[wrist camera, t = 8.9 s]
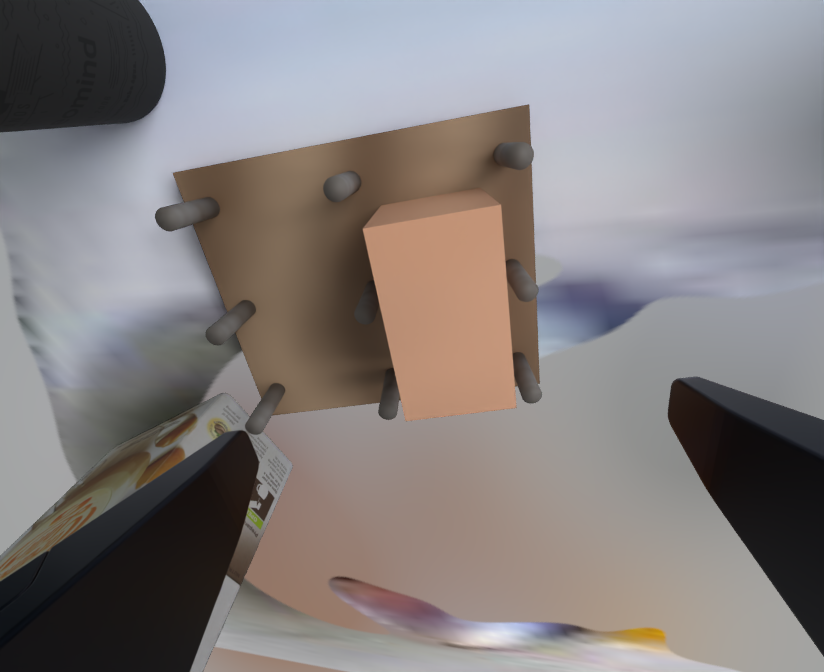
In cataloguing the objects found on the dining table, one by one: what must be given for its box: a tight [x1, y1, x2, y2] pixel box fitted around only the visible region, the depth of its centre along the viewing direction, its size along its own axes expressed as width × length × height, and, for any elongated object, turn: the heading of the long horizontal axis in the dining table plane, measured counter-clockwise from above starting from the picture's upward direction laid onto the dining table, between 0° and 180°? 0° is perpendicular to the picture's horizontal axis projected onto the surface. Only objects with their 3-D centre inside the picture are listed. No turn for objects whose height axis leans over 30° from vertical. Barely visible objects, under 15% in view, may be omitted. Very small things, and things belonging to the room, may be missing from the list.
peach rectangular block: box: [363, 188, 516, 421], centre depth 15 cm, size 4×7×5 cm, turn 10°
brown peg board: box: [155, 105, 542, 435], centre depth 17 cm, size 14×12×4 cm
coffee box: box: [0, 393, 293, 672], centre depth 16 cm, size 9×6×16 cm
